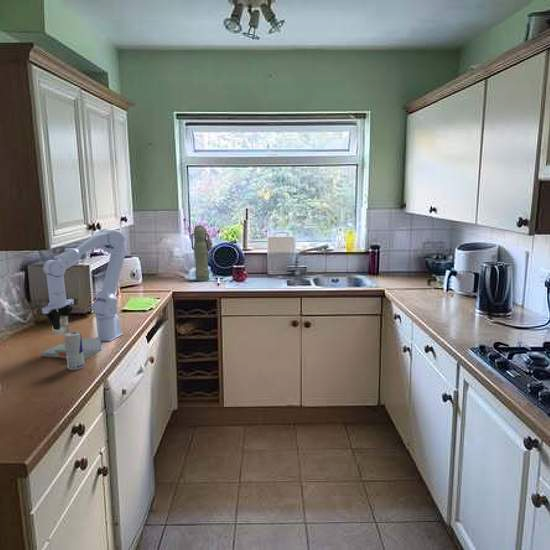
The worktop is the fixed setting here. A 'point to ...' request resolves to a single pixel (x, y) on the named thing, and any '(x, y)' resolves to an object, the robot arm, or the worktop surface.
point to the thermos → (201, 253)
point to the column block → (62, 326)
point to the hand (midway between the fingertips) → (60, 327)
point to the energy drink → (74, 350)
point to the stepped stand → (88, 345)
